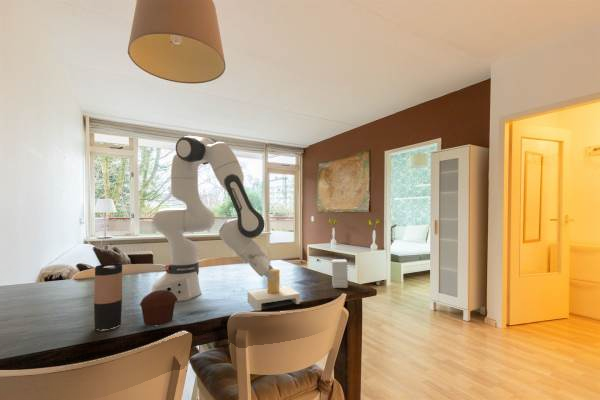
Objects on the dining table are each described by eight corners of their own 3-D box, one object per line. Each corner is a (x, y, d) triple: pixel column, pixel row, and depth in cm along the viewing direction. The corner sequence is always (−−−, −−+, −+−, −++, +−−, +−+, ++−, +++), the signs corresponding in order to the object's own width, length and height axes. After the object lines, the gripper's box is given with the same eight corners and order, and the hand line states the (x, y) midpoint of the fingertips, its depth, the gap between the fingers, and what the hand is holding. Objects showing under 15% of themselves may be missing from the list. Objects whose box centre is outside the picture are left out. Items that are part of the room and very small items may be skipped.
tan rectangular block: (269, 294, 113) (269, 272, 113) (265, 291, 117) (265, 269, 117) (281, 293, 115) (281, 270, 115) (276, 290, 119) (276, 268, 120)
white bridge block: (257, 310, 106) (257, 300, 106) (247, 300, 118) (247, 291, 118) (300, 303, 114) (300, 293, 114) (287, 294, 126) (287, 285, 126)
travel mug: (102, 322, 96) (103, 263, 97) (126, 321, 97) (127, 263, 97) (88, 332, 88) (89, 268, 89) (113, 331, 89) (114, 267, 90)
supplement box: (346, 284, 143) (346, 259, 143) (347, 288, 136) (347, 261, 136) (332, 283, 144) (331, 258, 144) (332, 287, 136) (332, 261, 137)
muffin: (136, 329, 90) (136, 298, 90) (142, 317, 100) (142, 289, 101) (177, 324, 94) (177, 294, 95) (178, 313, 105) (178, 285, 105)
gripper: (253, 251, 106) (279, 277, 106) (258, 244, 126) (280, 266, 126) (241, 263, 105) (267, 289, 106) (248, 254, 126) (270, 276, 126)
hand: (274, 276), depth 116 cm, fingers open, 8 cm apart
